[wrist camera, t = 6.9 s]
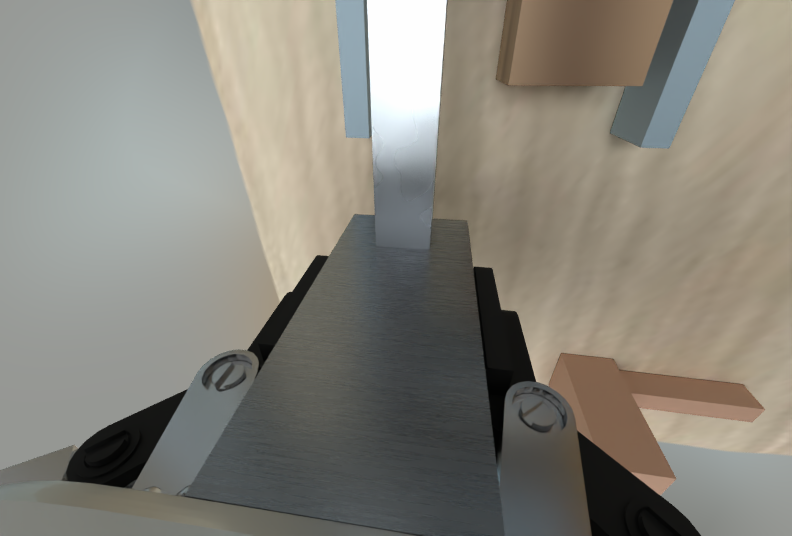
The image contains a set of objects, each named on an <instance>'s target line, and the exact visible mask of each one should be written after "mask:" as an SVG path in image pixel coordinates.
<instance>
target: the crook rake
mask: <svg viewBox="0 0 792 536" xmlns="http://www.w3.org/2000/svg"><path fill="white" fill-rule="evenodd" d="M447 4H448V0H367V10H368V38H369V66H370V94H371V121H372V149H373V177H374V205H375V215H359V214H354V216H353V218H352V219H351V221H350V223H349V224H348V226H347V228H346V229H345V231H344V233H343V234H342V236H341V237H340V239H339V241H338V242H337V244H336V246H335V247H334V249H333V251H332V252H331V254H330V256H329V257H328V259H327V261H326V262H325V264H324V266H323V267H322V269H321V271H320V272H319V274H318V276H317V277H316V279H315V281H314V282H313V284H312V285H311V287H310V289H309V290H308V292H307V294H306V295H305V297H304V299H303V300H302V302H301V304H300V305H299V307H298V309H297V310H296V312H295V314H294V315H293V317H292V319H291V320H290V322H289V324H288V325H287V327H286V328H285V330H284V332H283V333H282V335H281V337H280V338H279V340H278V342H277V343H276V345H275V347H274V348H273V350H272V352H271V353H270V355H269V357H268V358H267V360H266V362H265V363H264V365H263V367H262V368H261V370H260V372H259V373H258V375H257V376H256V378H255V380H254V381H253V383H252V385H251V386H250V388H249V390H248V391H247V393H246V395H245V396H244V398H243V400H242V401H241V403H240V405H239V406H238V408H237V410H236V411H235V413H234V415H233V416H232V418H231V419H230V421H229V423H228V424H227V426H226V428H225V429H224V431H223V433H222V434H221V436H220V438H219V439H218V441H217V443H216V444H215V446H214V448H213V449H212V451H211V453H210V454H209V456H208V458H207V459H206V461H205V462H204V464H203V466H202V467H201V469H200V471H199V472H198V474H197V476H196V477H195V479H194V481H193V482H192V484H191V486H190V487H189V489H188V491H187V492H186V494H185V497H187V498H193V499H199V500H205V501H212V502H218V503H224V504H230V505H236V506H242V507H249V508H255V509H261V510H267V511H273V512H279V513H285V514H291V515H297V516H303V517H309V518H315V519H321V520H327V521H333V522H339V523H345V524H351V525H357V526H363V527H369V528H374V529H380V530H386V531H392V532H398V533H404V534H410V535H416V536H505V531H504V523H503V515H502V506H501V498H500V490H499V481H498V473H497V464H496V456H495V448H494V439H493V431H492V423H491V414H490V406H489V397H488V389H487V381H486V372H485V364H484V356H483V347H482V339H481V331H480V322H479V314H478V305H477V297H476V289H475V280H474V272H473V264H472V255H471V247H470V239H469V230H468V222H467V221H464V220H446V219H433V206H434V191H435V177H436V162H437V148H438V133H439V119H440V105H441V90H442V76H443V61H444V47H445V32H446V18H447Z"/></svg>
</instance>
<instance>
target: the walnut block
mask: <svg viewBox="0 0 792 536" xmlns="http://www.w3.org/2000/svg"><path fill="white" fill-rule="evenodd" d="M672 3H673V0H507V4H506V11H505V19H504V26H503V33H502V40H501V47H500V54H499V61H498V68H497V75H496V80H499V81H501V82H503V83H505V84H507V85H537V86H643V83H644V81H645V78H646V75H647V72H648V69H649V67H650V64H651V61H652V58H653V55H654V53H655V50H656V47H657V44H658V42H659V39H660V36H661V33H662V30H663V28H664V25H665V22H666V19H667V16H668V14H669V11H670V8H671V5H672Z"/></svg>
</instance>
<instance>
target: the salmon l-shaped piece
mask: <svg viewBox="0 0 792 536" xmlns="http://www.w3.org/2000/svg"><path fill="white" fill-rule="evenodd" d="M549 387H550V388H552V389H554V390H555V391H557V392H558V393H559V394H560V395H561V396H563V397H564V398H565V399H566V400H567V402H568V403H569V405H570V406H571V408H572V410H573V413H574V416H575V420H576V427H577V431H579V432H580V433H581V434H582V435H584V436H585V437H586V438H588V439H589V440H590V441H591V442H593V443H594V444H595V445H596V446H598V447H599V448H600V449H602V450H603V451H604V452H605V453H607V454H608V455H609V456H610V457H612V458H613V459H614V460H616V461H617V462H618V463H619V464H621V465H622V466H623V467H625V468H626V469H627V470H628V471H630V472H631V473H632V474H633V475H635V476H636V477H637V478H639V479H640V480H641V481H642V482H644V483H645V484H646V485H647V486H649V487H650V488H651V489H653V490H654V491H655V492H656V493H658V494H659V495H661V494H662V493H663V492H664V491H665V490H666V489H667V488H668V487H669V486H670V485H671V484H672V483H673V482H674V481H675V480H676V477H675V475H674V473H673V471H672V470H671V468H670V466H669V464H668V462H667V460H666V458H665V456H664V454H663V453H662V451H661V449H660V447H659V445H658V443H657V441H656V439H655V437H654V435H653V434H652V432H651V430H650V428H649V426H648V424H647V422H646V420H645V418H644V416H643V415H642V413H641V411H640V409H639V408H645V409H653V410H661V411H669V412H676V413H684V414H692V415H700V416H708V417H715V418H723V419H731V420H739V421H747V422H753V421H754V420H755V419H756V418H757V417H758V416H759V415H760V414H761V413H762V412H763V411H764V410H765V409H764V408H763V406H762V405H761V404H760V403H759V402H758V401H757V400H756V399H755V397H754V396H753V395H752V394H751V393H750V392H749V391H748V390H747V388H746V387H745V386H744V385H743V384H734V383H725V382H717V381H708V380H699V379H691V378H682V377H673V376H665V375H656V374H647V373H639V372H630V371H621V370H619V369H618V367H617V365H616V363H615V362H614V360H613V359H608V358H599V357H590V356H581V355H572V354H563V353H561V355H560V358H559V360H558V362H557V365H556V367H555V370H554V372H553V375H552V377H551V380H550V382H549Z"/></svg>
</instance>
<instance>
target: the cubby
mask: <svg viewBox="0 0 792 536" xmlns="http://www.w3.org/2000/svg"><path fill="white" fill-rule="evenodd" d="M734 1H735V0H673V3H672V5H671V8H670V11H669V14H668V16H667V19H666V22H665V25H664V28H663V30H662V33H661V36H660V39H659V42H658V44H657V47H656V50H655V53H654V55H653V58H652V61H651V64H650V67H649V69H648V72H647V75H646V78H645V81H644V83H643V86H626V87H625V90H624V93H623V96H622V99H621V102H620V105H619V108H618V111H617V114H616V117H615V119H614V122H613V125H612V128H611V131H610V133H611V134H613V135H615V136H617V137H619V138H622V139H624V140H626V141H628V142H630V143H632V144H634V145H636V146H639V147H643V148H670V145H671V143H672V141H673V139H674V136H675V134H676V132H677V130H678V127H679V125H680V123H681V121H682V118H683V116H684V114H685V112H686V109H687V107H688V105H689V103H690V100H691V98H692V96H693V94H694V91H695V89H696V87H697V85H698V82H699V80H700V78H701V76H702V73H703V71H704V69H705V67H706V64H707V62H708V60H709V58H710V55H711V53H712V51H713V49H714V46H715V44H716V42H717V40H718V37H719V35H720V33H721V31H722V28H723V26H724V24H725V22H726V19H727V17H728V15H729V13H730V10H731V8H732V6H733V4H734ZM336 13H337V26H338V39H339V52H340V65H341V78H342V91H343V104H344V117H345V130H346V137H350V138H370V137H371V136H372V121H371V94H370V66H369V38H368V10H367V0H336Z"/></svg>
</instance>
